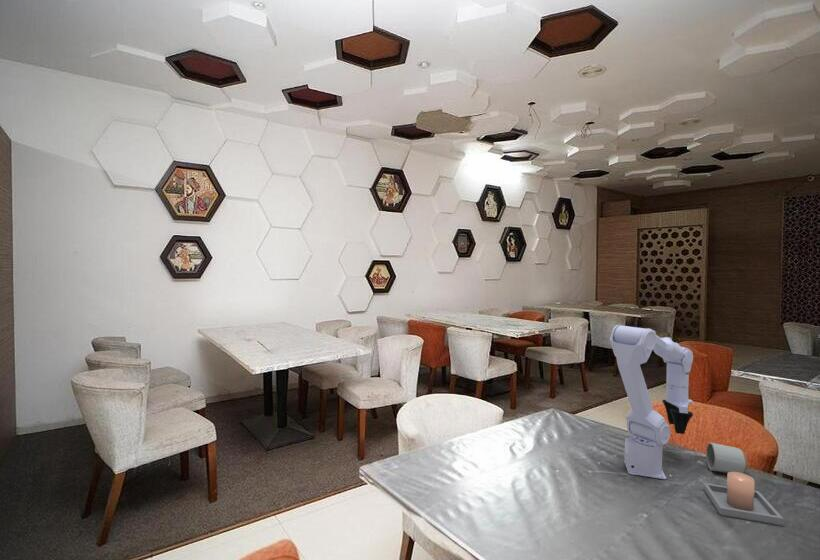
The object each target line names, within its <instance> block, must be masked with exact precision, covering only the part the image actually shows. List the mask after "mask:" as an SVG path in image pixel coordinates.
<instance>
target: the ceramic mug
mask: <svg viewBox="0 0 820 560" xmlns="http://www.w3.org/2000/svg"><path fill="white" fill-rule="evenodd" d="M705 457H706V464H707V466H708V468H709V469H710V471H712V472H719V473H728V472H739V473H743V474H746V472H747V471H748V459H747V455H746V453H745V452H744V450H743V449H741V448H738V447H735V446H729V445H725V444H720V443H714V442H709V443H707V445H706V451H705Z"/></svg>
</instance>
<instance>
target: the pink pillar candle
mask: <svg viewBox="0 0 820 560" xmlns="http://www.w3.org/2000/svg"><path fill="white" fill-rule="evenodd" d="M726 475H727V477H726V478H727V479H726V481H727V482H726V486H727V503H728V504H729V505H730V506H732V507H734V508H736V509H739V510H745V511H752V510H754V491H755V481H756V480H755V479H754V478H753V477H752V476H750V475H748V474H746V473H744V474H743V473H739V472H728V473H727V474H726Z"/></svg>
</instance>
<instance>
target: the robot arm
mask: <svg viewBox="0 0 820 560" xmlns="http://www.w3.org/2000/svg"><path fill="white" fill-rule="evenodd" d="M609 343H610V345H611V348H612V351H613V354H614V357H616V364H617V368H618V372H619V374H620V376H621V380H622V383H623V386H624V389H625V392H626V394H627V395H626V396H627V398H628V402H629V405H630V408H631V409H630V410H629V411H628V412H627V414H626V416H625V419H626V429H627V432H628V433H629V434H630V437H626V438H625V439H624V461H623V462H624V466H625V468H626V472H627V473H628V474H629V475H633V476H634V475H635V476H641V477H648V478H653V479H661V480H667V476H666V474H665V472H664V471H663V446H664V445H666V444H668V443H669V440H670V438H671V432H672V431H671V428H670V425H674V431H675V433H676V434H680V435H685V434H686V433H685V432H686V430H687V426H688V424H689V421H690V420H691V419H692V417H693V416H694V413H693V412H692V411H689V407H688V406H689V404H693V403H694V401H693V400H692V399H690V398H689V385H690V384H689V383H690V382H689V379H690V378H689V377H690V375H689V374H690V373H691V372H692V371H691V370H692V364H693V361H694V354H693V351H692V350H691V349H690V348H688V347H684V346H681V345H680V343H678V342H674V341H673V339H672V338H671V337H670V336H665V337H660V336H658V335H657V332H656V330H654V329H652V328H643V327H636V326H628V325H622V324H617V325H615V326H614V327H613V329H612V330H611V332H610V337H609ZM652 352H654V354H655V355H657V357H658V356H659V357H660V358H661V359H662V360H663V362H664V363H666V384H665V385H666V387H665V399H662V401H661V402H662V403H663V405H664V409H665V412H666V416H667V417H666V418H667V421H668V423H669V424H670V425H669V424H668V423H667V422H666V419H665V417H663V415H661V414H660V413H658V411H656V410H655V409H654V407H653V403H652V399H651V395H650V394H649V390H648V387H647V384H646V380H645V377H644V374H643V371H642V368H641V365H642V364H646V363H647V362H648V361H649V358H650V356H651V354H652Z"/></svg>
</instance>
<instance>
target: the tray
mask: <svg viewBox="0 0 820 560" xmlns="http://www.w3.org/2000/svg"><path fill="white" fill-rule="evenodd" d="M702 485H703V487H702V488H703V489H702V490H703V491H704V493H705V495H706V496H707V498H708V499H709V501H710V502H711V504H712V505H713V507H714V508H715V509H716V511H717V512H718V514H719V515H720V516H721V517H727V518H734V519H737V520H738V519H739V520H746V521H751V522H756V523H762V524H767V525H774V526H779V527H784V522H785V521H784V517H783V516H782V515H781V514H780V513H779V512H778V510H776V508H774V506H773V505H772V504H771V503H770V502H769V501H768V500H767V498H765V496H764V495H763V494H762V493H761V492H760V491H758V490H754V510H752V511H745V510H739V509H736V508H734V507H732V506H730V505H729V504H728V503H727V485H720V484H713V483H708V482H707V483H705V482H703V484H702Z"/></svg>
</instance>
